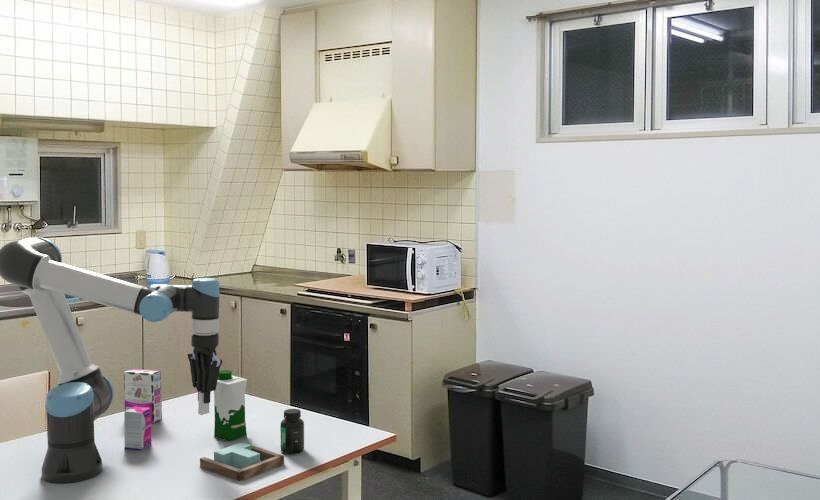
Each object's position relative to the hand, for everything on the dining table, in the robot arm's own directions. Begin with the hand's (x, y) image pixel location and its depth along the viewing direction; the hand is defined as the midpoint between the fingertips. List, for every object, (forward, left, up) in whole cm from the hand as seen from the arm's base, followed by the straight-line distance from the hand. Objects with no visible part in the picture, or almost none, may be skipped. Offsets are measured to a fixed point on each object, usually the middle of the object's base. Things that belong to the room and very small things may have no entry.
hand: (203, 413), depth 231 cm
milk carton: (+15, +6, -12) cm, 20 cm away
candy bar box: (+8, +41, -12) cm, 43 cm away
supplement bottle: (+18, -18, -12) cm, 28 cm away
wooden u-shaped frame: (+1, -15, -12) cm, 19 cm away
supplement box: (-8, +20, -12) cm, 25 cm away
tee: (+1, -15, -12) cm, 19 cm away
